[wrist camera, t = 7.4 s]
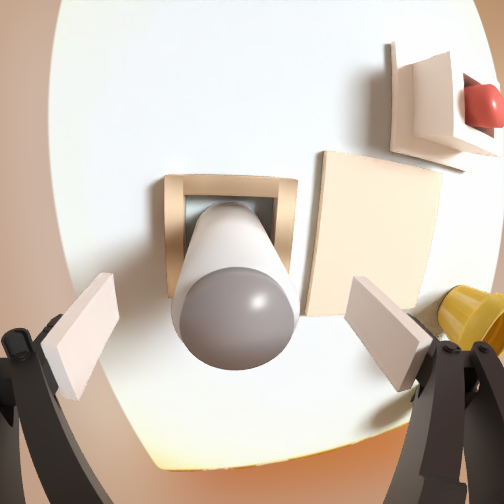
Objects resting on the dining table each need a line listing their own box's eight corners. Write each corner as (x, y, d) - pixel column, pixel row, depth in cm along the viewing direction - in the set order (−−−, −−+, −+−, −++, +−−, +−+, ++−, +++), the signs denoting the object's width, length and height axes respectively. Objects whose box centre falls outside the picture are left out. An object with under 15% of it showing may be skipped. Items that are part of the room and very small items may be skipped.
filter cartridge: (193, 201, 24) (161, 264, 11) (264, 201, 24) (313, 264, 11) (195, 266, 26) (176, 377, 13) (260, 266, 26) (296, 373, 13)
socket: (168, 174, 23) (164, 175, 21) (291, 178, 24) (297, 180, 22) (171, 287, 26) (168, 297, 24) (281, 288, 27) (286, 298, 26)
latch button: (445, 82, 18) (481, 76, 13) (470, 95, 19) (505, 93, 14) (446, 120, 19) (484, 120, 15) (471, 131, 20) (506, 133, 15)
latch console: (390, 43, 20) (431, 24, 14) (466, 79, 22) (506, 74, 15) (389, 151, 24) (436, 154, 17) (465, 171, 25) (508, 180, 19)
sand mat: (323, 150, 24) (327, 150, 23) (438, 172, 25) (442, 173, 24) (304, 312, 29) (306, 316, 28) (411, 305, 30) (414, 308, 30)
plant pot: (480, 302, 33) (520, 333, 24) (436, 348, 34) (472, 387, 25) (469, 256, 29) (520, 286, 20) (418, 310, 31) (464, 353, 22)
